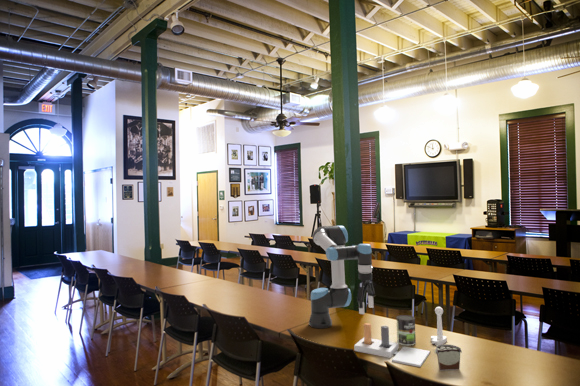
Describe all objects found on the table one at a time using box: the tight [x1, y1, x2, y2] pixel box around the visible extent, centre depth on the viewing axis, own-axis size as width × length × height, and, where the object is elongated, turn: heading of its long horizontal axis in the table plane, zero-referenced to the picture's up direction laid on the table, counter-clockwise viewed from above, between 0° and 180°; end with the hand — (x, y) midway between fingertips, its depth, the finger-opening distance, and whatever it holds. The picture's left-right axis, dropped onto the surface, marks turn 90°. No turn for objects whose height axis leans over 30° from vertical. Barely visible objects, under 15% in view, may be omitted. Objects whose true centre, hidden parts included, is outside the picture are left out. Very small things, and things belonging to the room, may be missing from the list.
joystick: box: [430, 306, 448, 347], centre depth 219 cm, size 11×8×20 cm
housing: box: [353, 337, 400, 359], centre depth 211 cm, size 20×14×3 cm
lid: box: [391, 345, 431, 368], centre depth 200 cm, size 16×20×1 cm
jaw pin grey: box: [380, 325, 390, 348], centre depth 208 cm, size 4×4×13 cm
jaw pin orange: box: [363, 322, 373, 345], centre depth 213 cm, size 4×4×13 cm
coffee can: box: [395, 314, 417, 347], centre depth 220 cm, size 10×10×14 cm
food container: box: [434, 343, 463, 372], centre depth 186 cm, size 12×6×10 cm, turn 92°
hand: (366, 310), depth 214 cm, fingers open, 13 cm apart
